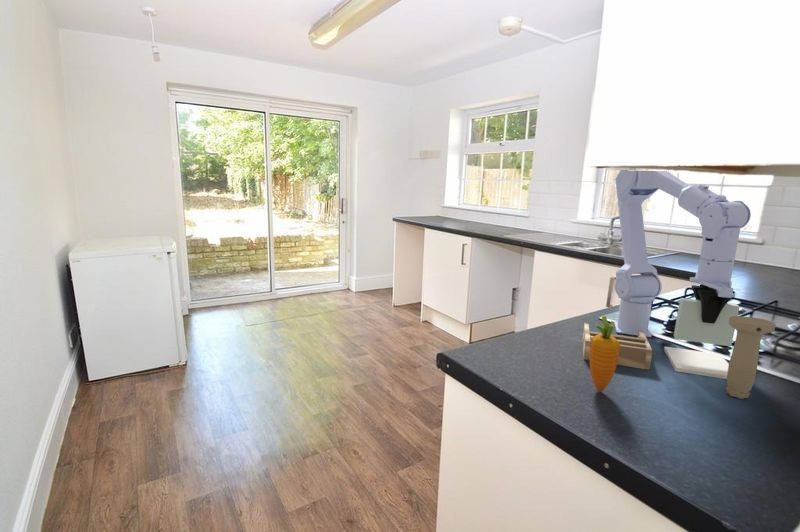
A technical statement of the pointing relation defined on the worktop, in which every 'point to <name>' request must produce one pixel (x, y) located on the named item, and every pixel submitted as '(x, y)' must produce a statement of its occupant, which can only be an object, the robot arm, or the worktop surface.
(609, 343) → the carrot
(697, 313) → the sheet
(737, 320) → the handle
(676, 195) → the robot arm
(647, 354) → the rack
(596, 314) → the worktop surface
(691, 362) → the tile
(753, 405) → the worktop surface
